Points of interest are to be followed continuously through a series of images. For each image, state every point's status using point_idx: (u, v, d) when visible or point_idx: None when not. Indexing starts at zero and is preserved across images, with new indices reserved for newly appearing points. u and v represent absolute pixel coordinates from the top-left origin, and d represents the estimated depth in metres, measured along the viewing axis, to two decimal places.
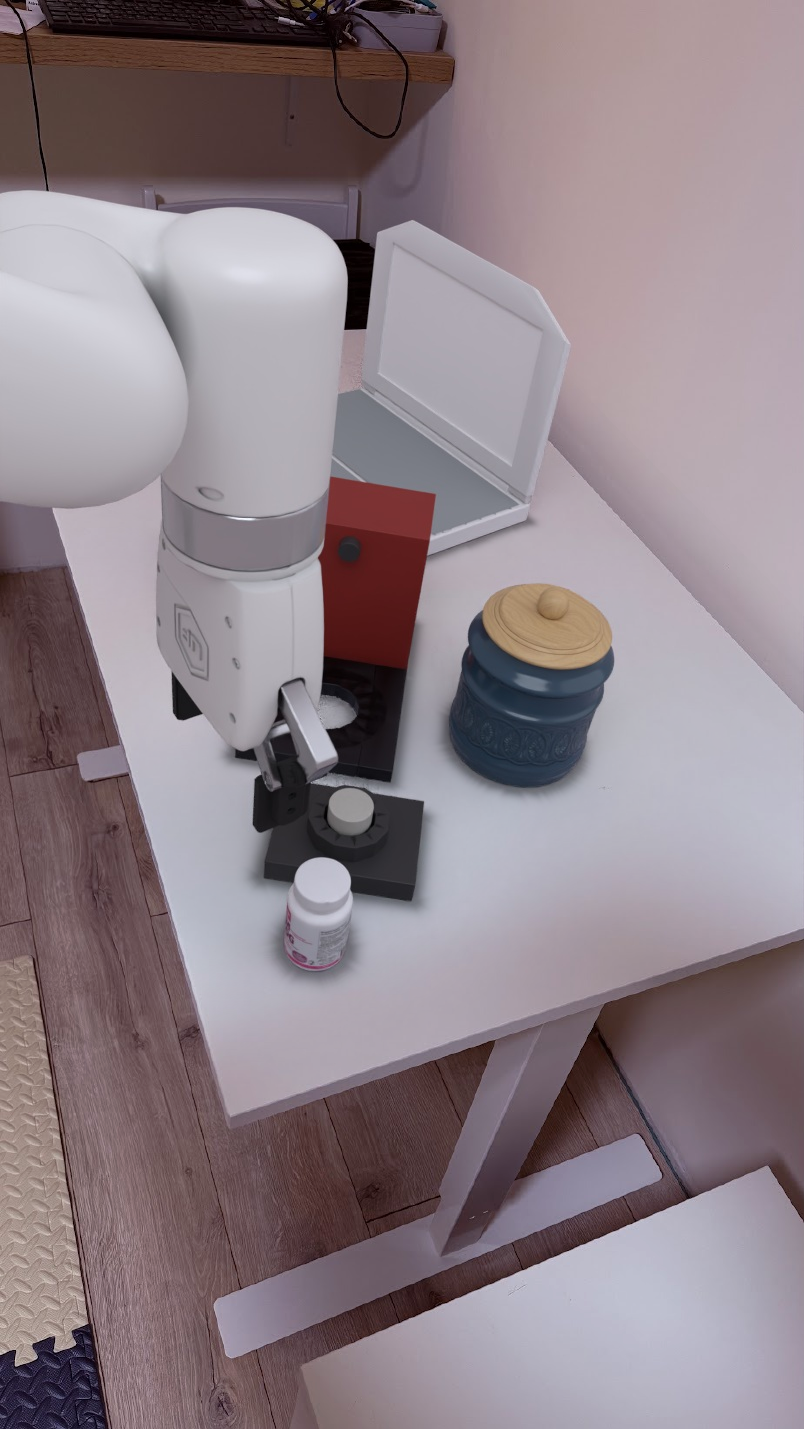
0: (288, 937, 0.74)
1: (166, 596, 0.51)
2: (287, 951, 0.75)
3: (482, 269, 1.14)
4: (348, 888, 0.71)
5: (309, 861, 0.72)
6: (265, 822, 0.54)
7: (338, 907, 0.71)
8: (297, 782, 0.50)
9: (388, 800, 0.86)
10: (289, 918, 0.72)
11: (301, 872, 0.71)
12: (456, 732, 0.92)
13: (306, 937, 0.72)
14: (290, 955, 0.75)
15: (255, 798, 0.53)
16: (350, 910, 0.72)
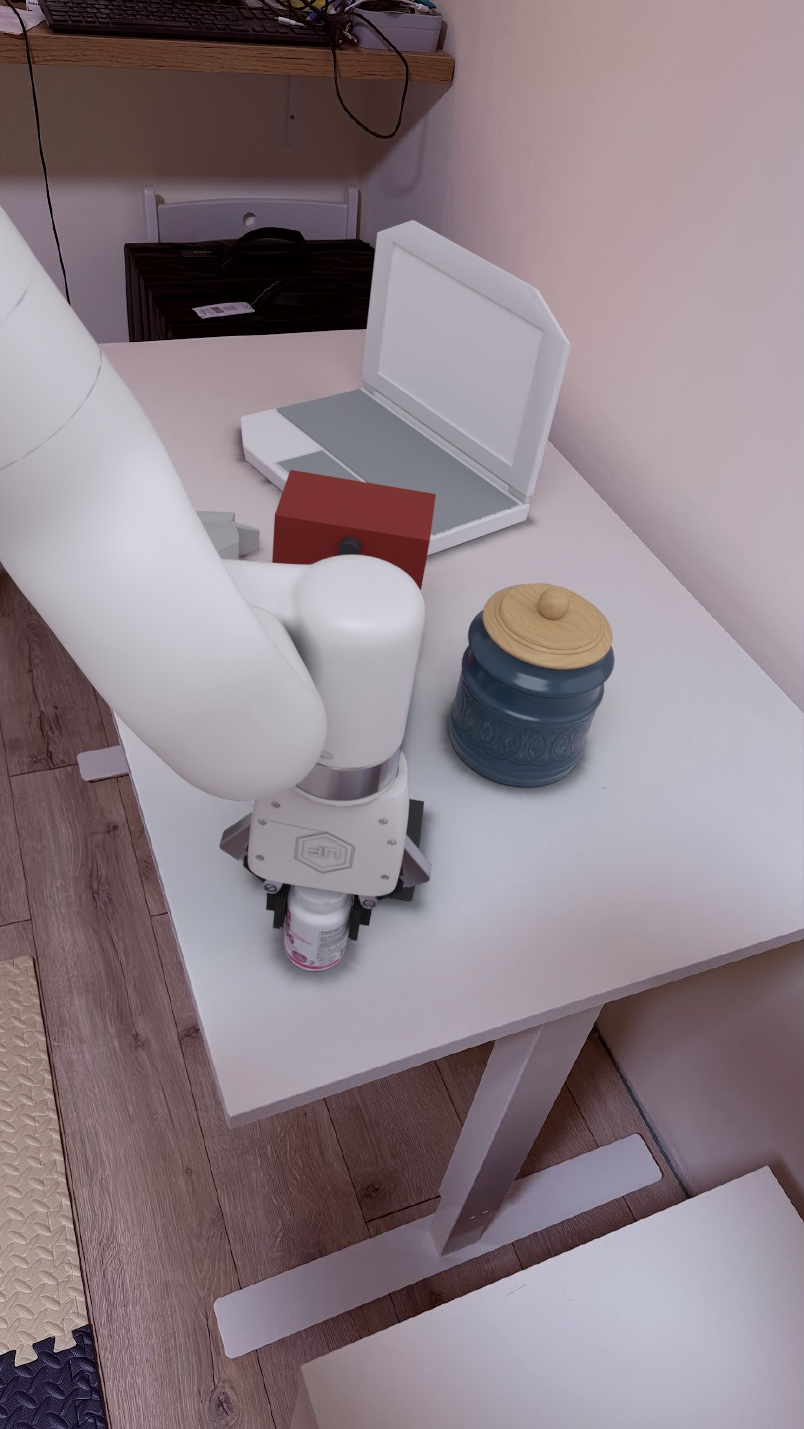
0: (288, 937, 0.74)
1: (279, 837, 0.64)
2: (287, 951, 0.75)
3: (482, 269, 1.14)
4: None
5: None
6: None
7: (338, 907, 0.71)
8: (400, 889, 0.70)
9: None
10: (289, 918, 0.72)
11: None
12: (456, 732, 0.92)
13: (306, 937, 0.72)
14: (290, 955, 0.75)
15: (355, 921, 0.72)
16: (350, 910, 0.72)
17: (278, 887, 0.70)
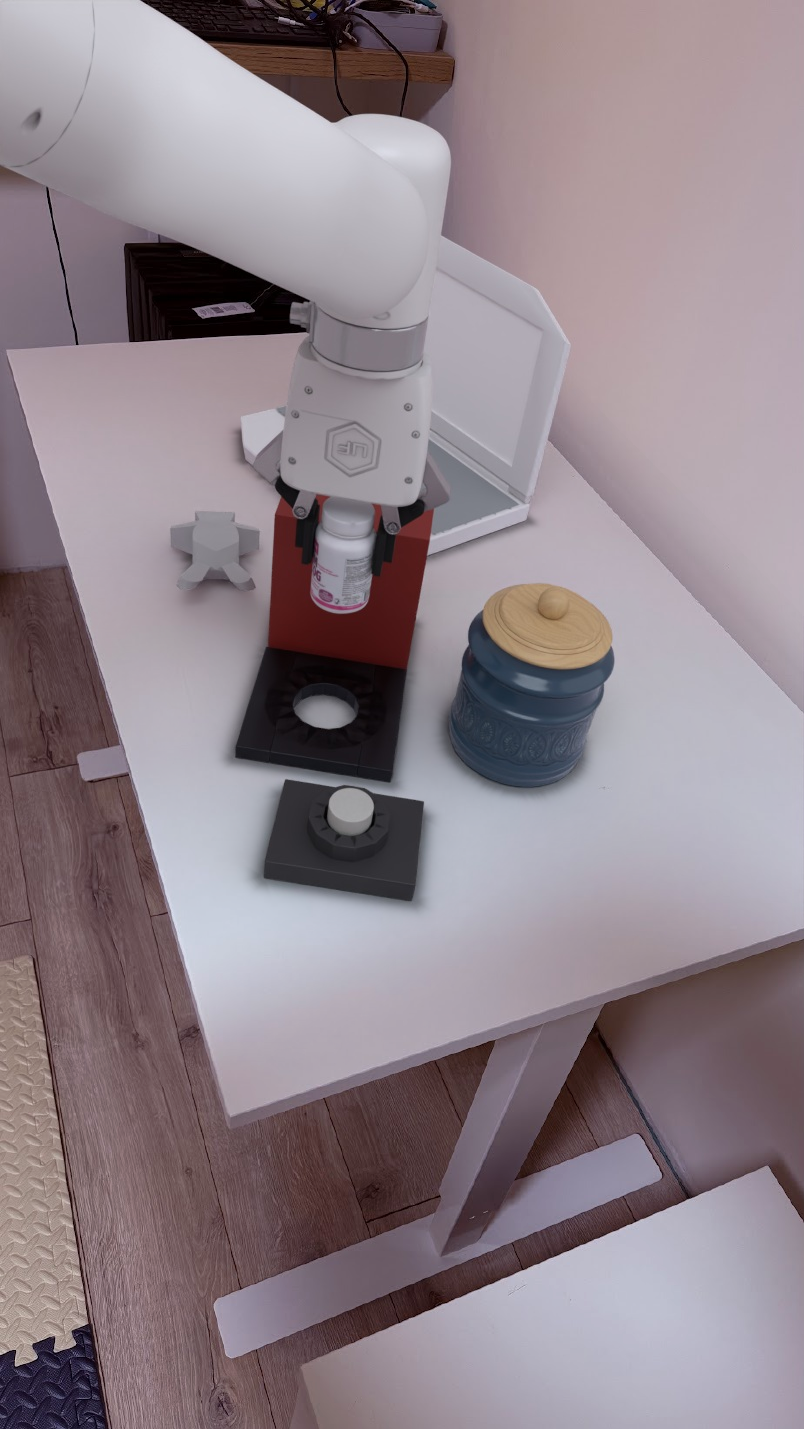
0: (315, 576, 0.79)
1: (310, 431, 0.69)
2: (314, 595, 0.80)
3: (482, 269, 1.14)
4: (373, 515, 0.76)
5: None
6: (381, 567, 0.78)
7: (363, 533, 0.76)
8: (421, 511, 0.74)
9: (388, 800, 0.86)
10: (317, 551, 0.77)
11: (328, 502, 0.76)
12: (456, 732, 0.92)
13: (333, 568, 0.77)
14: (317, 597, 0.80)
15: (379, 549, 0.76)
16: (374, 543, 0.77)
17: (307, 510, 0.75)
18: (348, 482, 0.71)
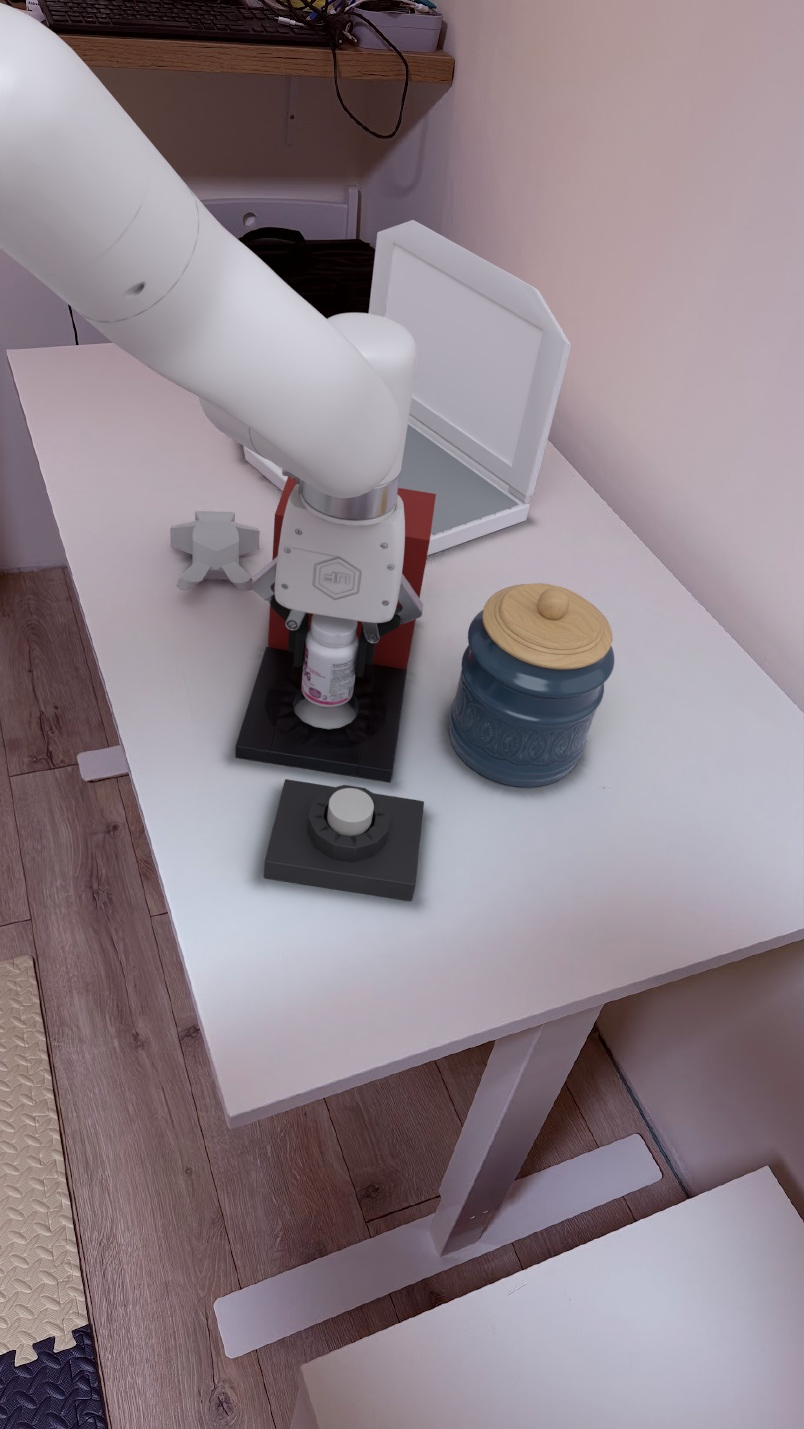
0: (305, 676, 0.90)
1: (300, 564, 0.80)
2: (304, 691, 0.91)
3: (482, 269, 1.14)
4: (355, 626, 0.87)
5: None
6: (363, 669, 0.89)
7: (347, 642, 0.87)
8: (397, 624, 0.86)
9: (388, 800, 0.86)
10: (307, 656, 0.88)
11: (317, 614, 0.87)
12: (456, 732, 0.92)
13: (321, 671, 0.88)
14: (307, 693, 0.91)
15: (361, 655, 0.87)
16: (357, 649, 0.88)
17: (298, 623, 0.86)
18: (333, 604, 0.82)
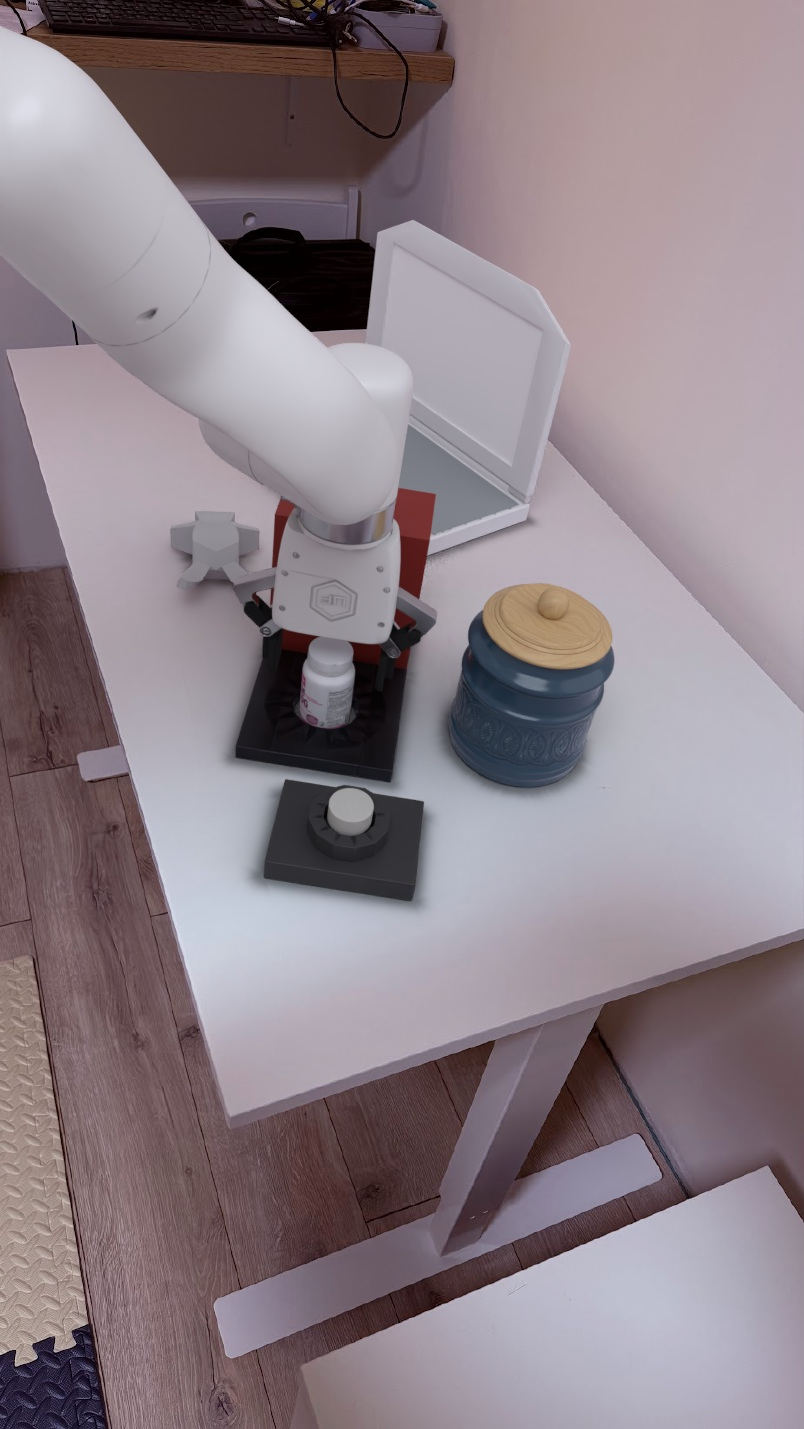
0: (303, 703, 0.92)
1: (298, 586, 0.82)
2: (302, 717, 0.93)
3: (482, 269, 1.14)
4: (351, 656, 0.89)
5: (320, 637, 0.90)
6: None
7: (343, 671, 0.89)
8: (418, 639, 0.86)
9: (388, 800, 0.86)
10: (304, 684, 0.91)
11: (314, 644, 0.89)
12: (456, 732, 0.92)
13: (317, 698, 0.90)
14: (304, 720, 0.93)
15: (382, 670, 0.88)
16: (353, 677, 0.91)
17: (272, 630, 0.87)
18: (330, 625, 0.84)
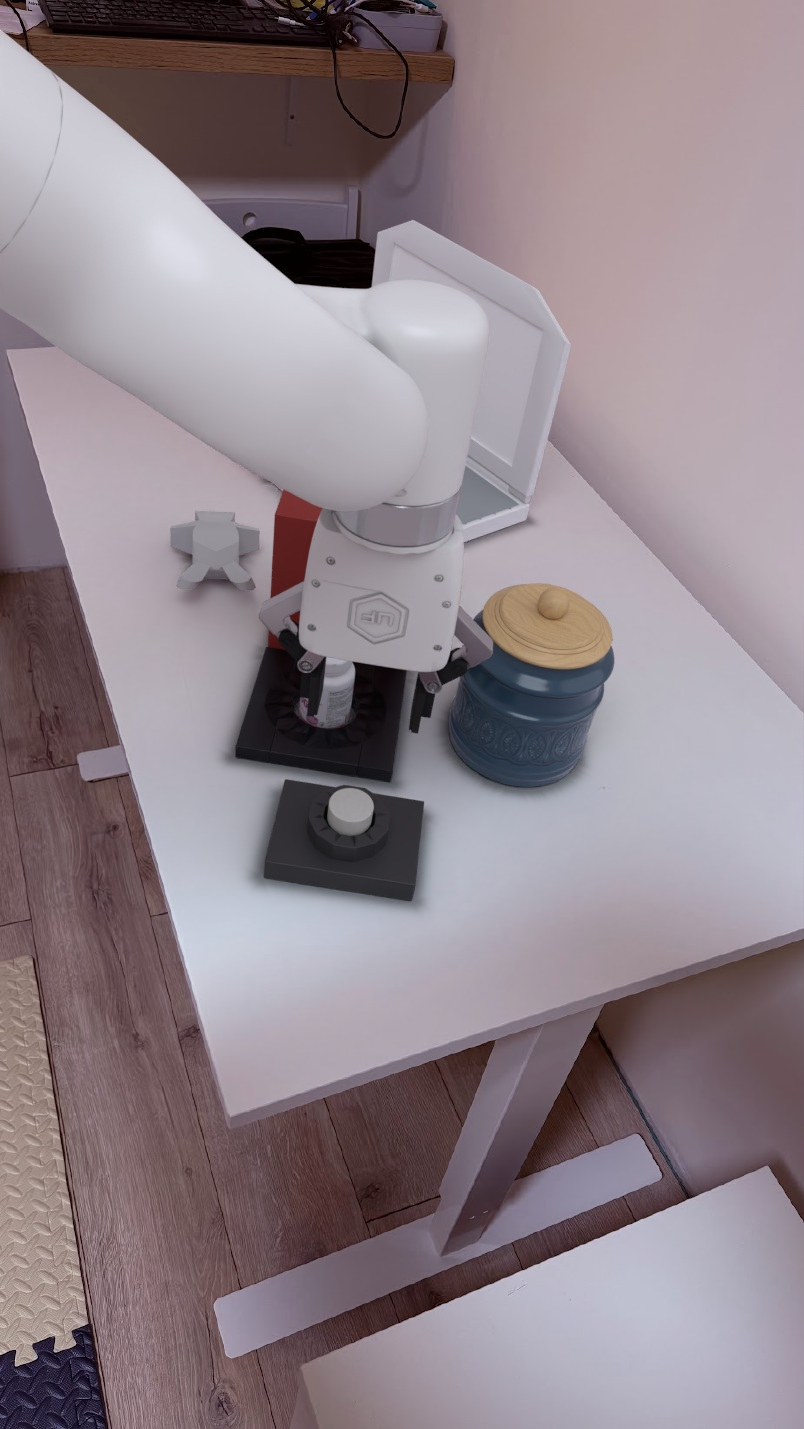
0: (303, 703, 0.92)
1: (332, 600, 0.64)
2: (302, 717, 0.93)
3: (482, 269, 1.14)
4: None
5: None
6: None
7: (343, 671, 0.89)
8: (464, 670, 0.69)
9: (388, 800, 0.86)
10: None
11: None
12: (456, 732, 0.92)
13: None
14: (304, 720, 0.93)
15: (418, 708, 0.71)
16: (353, 677, 0.91)
17: (313, 665, 0.69)
18: (372, 649, 0.66)
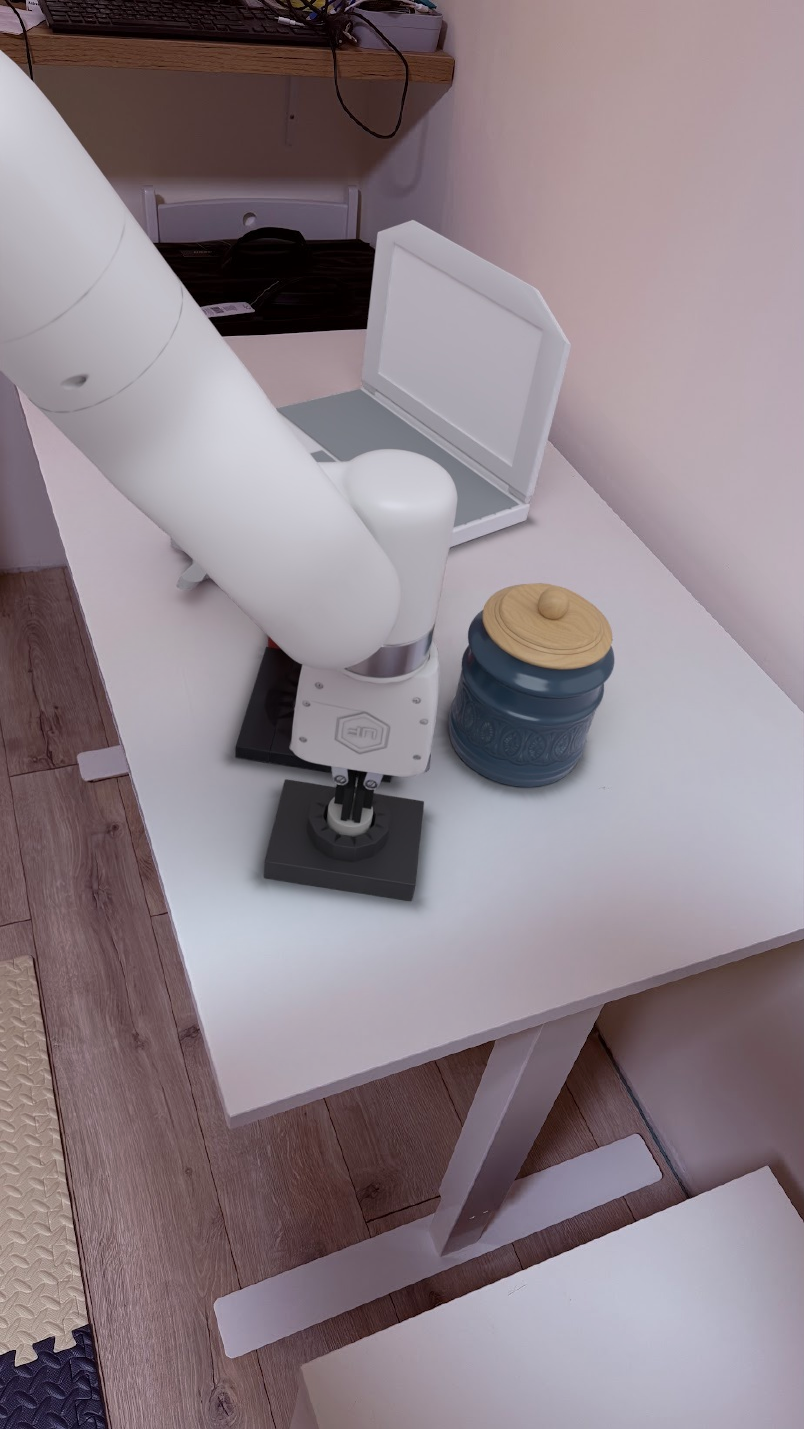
0: None
1: (321, 717, 0.71)
2: None
3: (482, 269, 1.14)
4: None
5: None
6: (361, 814, 0.80)
7: None
8: None
9: (388, 800, 0.86)
10: None
11: None
12: (456, 732, 0.92)
13: None
14: None
15: (359, 802, 0.78)
16: None
17: (347, 778, 0.77)
18: (358, 758, 0.73)
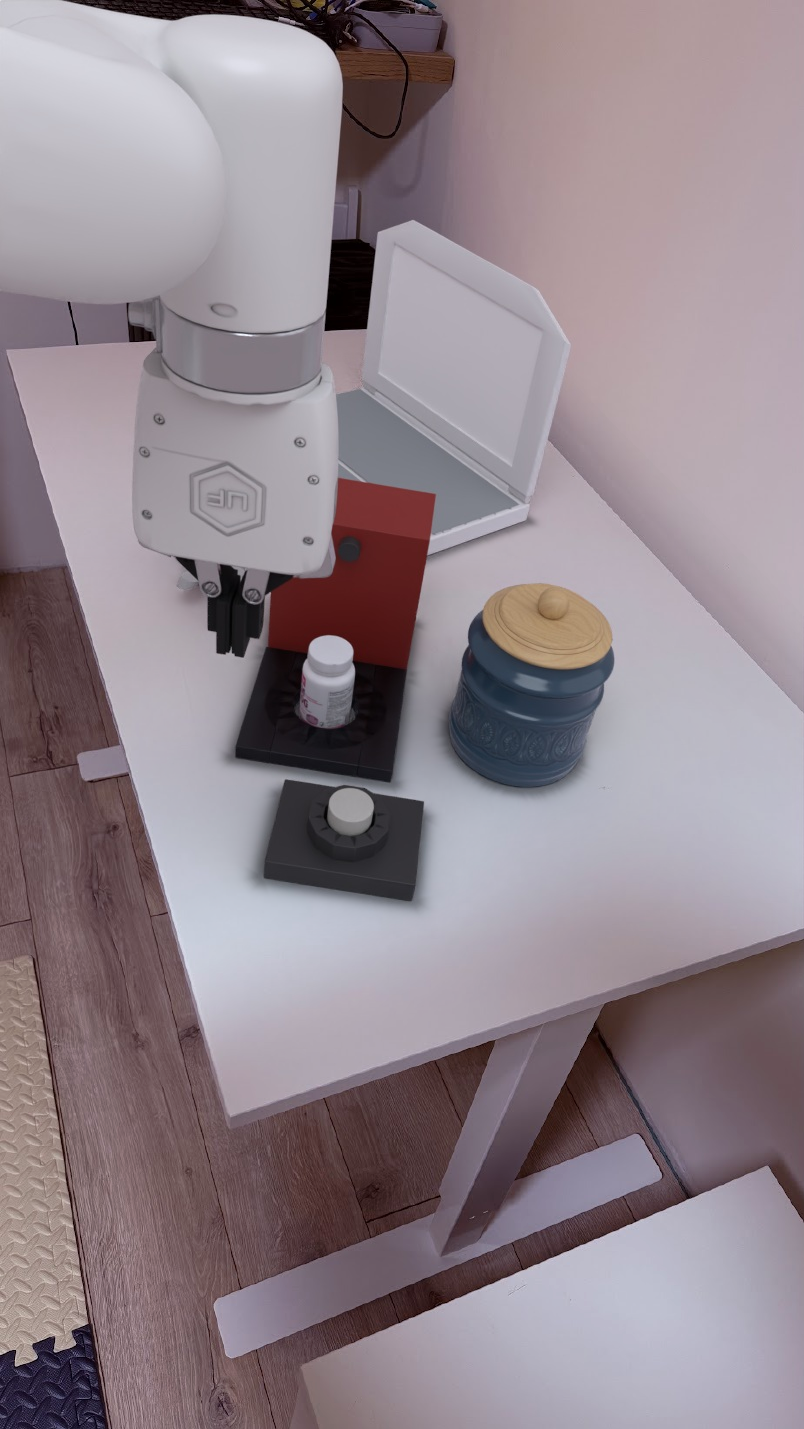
0: (303, 703, 0.92)
1: (168, 475, 0.49)
2: (302, 717, 0.93)
3: (482, 269, 1.14)
4: (351, 656, 0.89)
5: (320, 637, 0.90)
6: (245, 645, 0.58)
7: (343, 671, 0.89)
8: None
9: (388, 800, 0.86)
10: (304, 684, 0.91)
11: (314, 644, 0.89)
12: (456, 732, 0.92)
13: (317, 698, 0.90)
14: (304, 720, 0.93)
15: (238, 623, 0.57)
16: (353, 677, 0.91)
17: (220, 586, 0.55)
18: (226, 543, 0.52)
